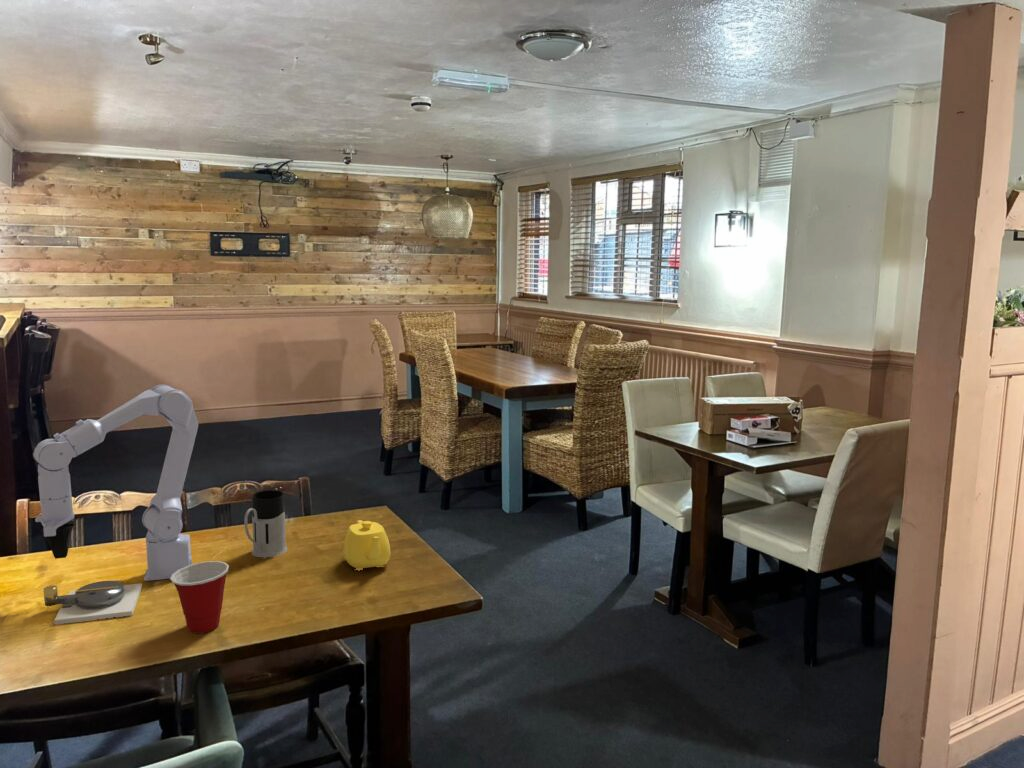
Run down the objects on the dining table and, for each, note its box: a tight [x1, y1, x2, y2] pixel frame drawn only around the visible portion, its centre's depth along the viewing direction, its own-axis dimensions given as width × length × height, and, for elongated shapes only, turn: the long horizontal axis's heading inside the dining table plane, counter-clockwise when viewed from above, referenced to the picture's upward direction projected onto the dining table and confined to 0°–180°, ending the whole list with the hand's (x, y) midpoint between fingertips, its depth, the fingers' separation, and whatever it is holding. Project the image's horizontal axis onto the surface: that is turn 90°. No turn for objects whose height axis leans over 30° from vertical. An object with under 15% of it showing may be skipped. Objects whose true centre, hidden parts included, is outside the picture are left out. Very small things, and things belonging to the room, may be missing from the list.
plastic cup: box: [169, 560, 230, 634], centre depth 148 cm, size 11×11×12 cm
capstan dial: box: [43, 580, 125, 608], centre depth 156 cm, size 15×9×4 cm, turn 108°
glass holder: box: [243, 489, 288, 559], centre depth 185 cm, size 9×14×15 cm, turn 166°
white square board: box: [53, 583, 143, 626], centre depth 157 cm, size 14×14×1 cm
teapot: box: [342, 519, 391, 569], centre depth 180 cm, size 18×11×11 cm, turn 25°
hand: (61, 557), depth 159 cm, fingers closed
